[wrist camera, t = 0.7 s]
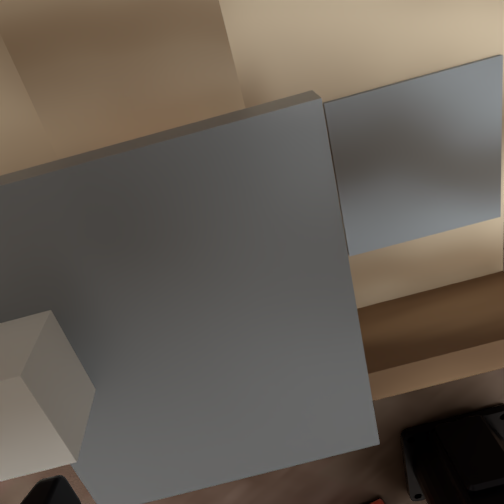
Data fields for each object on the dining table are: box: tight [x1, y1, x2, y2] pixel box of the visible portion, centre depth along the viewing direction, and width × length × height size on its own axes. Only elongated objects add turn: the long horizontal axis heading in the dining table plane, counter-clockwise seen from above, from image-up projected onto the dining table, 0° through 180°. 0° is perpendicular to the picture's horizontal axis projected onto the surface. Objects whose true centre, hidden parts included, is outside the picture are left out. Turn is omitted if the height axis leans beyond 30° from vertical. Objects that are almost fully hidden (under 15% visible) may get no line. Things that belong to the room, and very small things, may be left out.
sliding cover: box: [0, 90, 380, 504], centre depth 14 cm, size 13×10×5 cm
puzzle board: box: [0, 0, 504, 401], centre depth 17 cm, size 18×19×6 cm
